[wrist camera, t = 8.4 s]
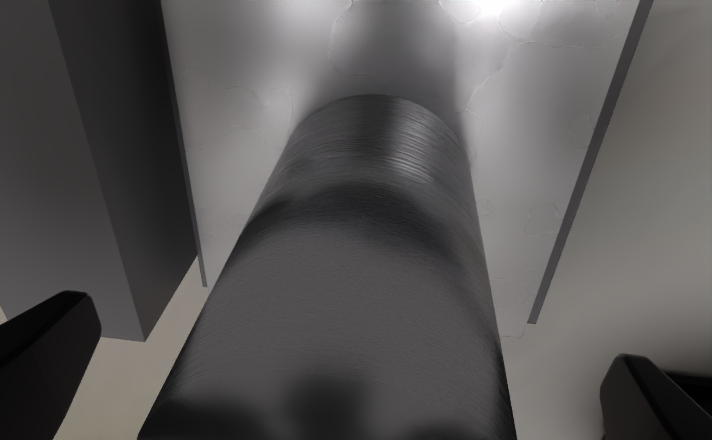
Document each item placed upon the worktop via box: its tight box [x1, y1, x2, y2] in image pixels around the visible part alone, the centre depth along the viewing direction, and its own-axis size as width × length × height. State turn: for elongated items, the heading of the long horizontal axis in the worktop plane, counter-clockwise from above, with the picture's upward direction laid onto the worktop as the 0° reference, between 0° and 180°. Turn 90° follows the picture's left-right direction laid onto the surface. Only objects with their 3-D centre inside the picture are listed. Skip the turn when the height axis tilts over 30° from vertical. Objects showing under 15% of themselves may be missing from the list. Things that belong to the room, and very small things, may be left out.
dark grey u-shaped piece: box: [0, 0, 653, 342], centre depth 14 cm, size 16×12×6 cm
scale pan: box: [161, 0, 640, 338], centre depth 13 cm, size 10×10×1 cm
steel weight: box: [137, 94, 517, 440], centre depth 10 cm, size 5×5×8 cm
